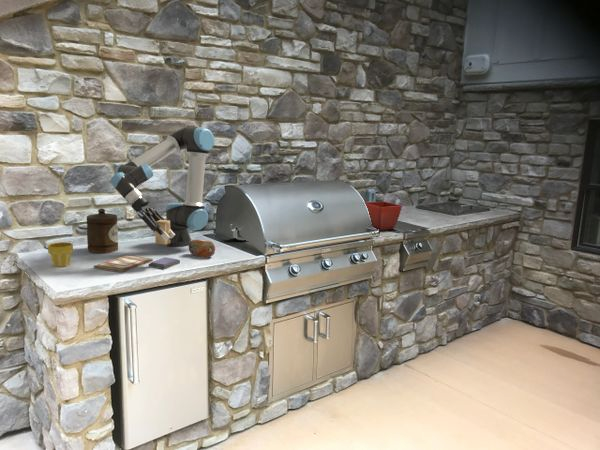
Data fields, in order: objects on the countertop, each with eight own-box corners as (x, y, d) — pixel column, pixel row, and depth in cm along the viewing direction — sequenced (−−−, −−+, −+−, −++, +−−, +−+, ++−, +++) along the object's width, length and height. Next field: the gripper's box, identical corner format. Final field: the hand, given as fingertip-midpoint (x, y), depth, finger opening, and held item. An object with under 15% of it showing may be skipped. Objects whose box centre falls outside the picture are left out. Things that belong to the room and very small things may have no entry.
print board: (126, 256, 245) (126, 254, 245) (152, 260, 239) (152, 258, 239) (93, 267, 225) (93, 265, 225) (121, 272, 219) (121, 269, 219)
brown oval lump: (188, 254, 253) (188, 238, 252) (192, 253, 256) (192, 237, 254) (212, 258, 247) (212, 242, 245) (216, 257, 250) (216, 241, 248)
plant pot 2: (400, 229, 334) (402, 205, 331) (378, 232, 324) (380, 207, 321) (382, 224, 350) (384, 201, 347) (361, 226, 341) (362, 202, 337)
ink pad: (164, 260, 241) (164, 256, 240) (179, 262, 238) (179, 258, 237) (148, 266, 230) (148, 262, 229) (164, 269, 227) (164, 265, 226)
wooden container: (119, 252, 252) (117, 210, 248) (87, 254, 247) (85, 211, 242) (117, 245, 266) (116, 205, 261) (88, 247, 260) (85, 206, 256)
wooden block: (160, 242, 234) (160, 219, 232) (170, 243, 233) (170, 220, 231) (155, 244, 229) (155, 221, 227) (165, 245, 228) (165, 222, 226)
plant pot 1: (50, 262, 230) (49, 242, 229) (74, 261, 234) (73, 241, 232) (47, 268, 221) (46, 247, 219) (73, 267, 225) (71, 246, 223)
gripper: (141, 203, 239) (173, 238, 240) (121, 209, 222) (156, 247, 222) (151, 193, 237) (183, 229, 238) (132, 198, 220) (166, 236, 220)
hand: (170, 237), depth 230 cm, fingers closed on wooden block, 5 cm apart
